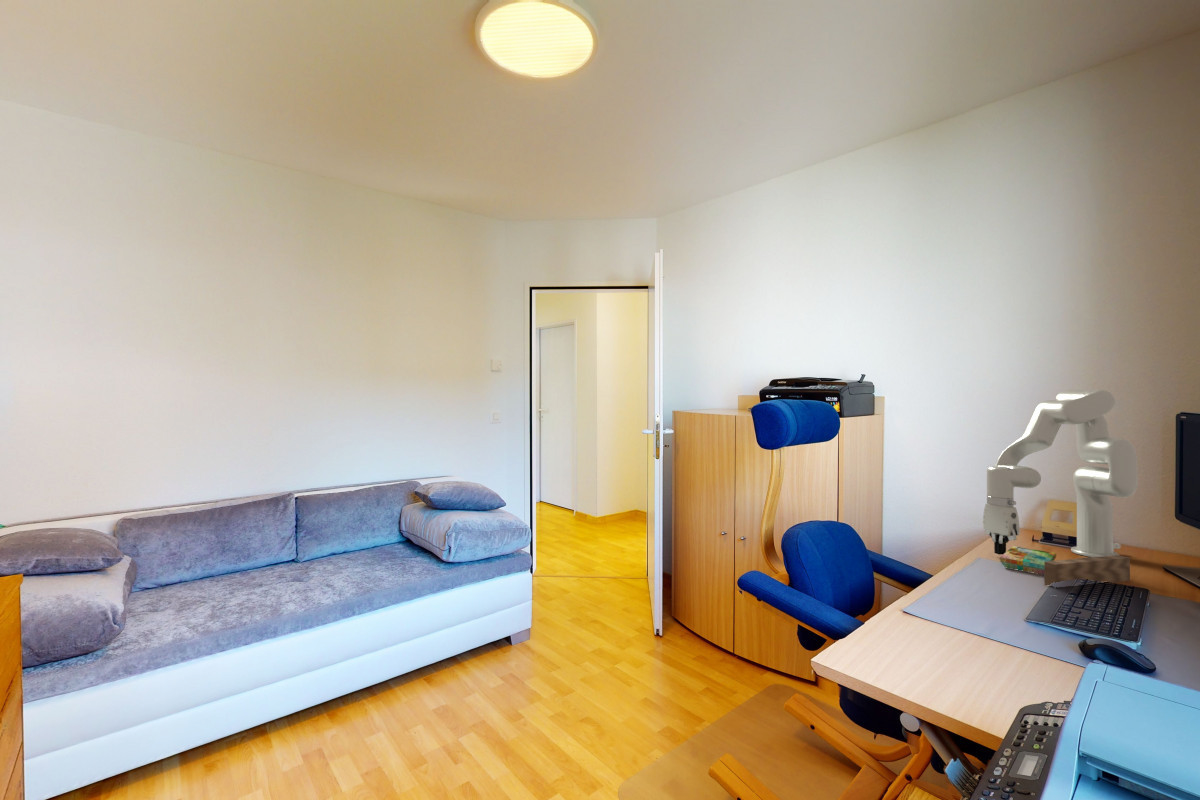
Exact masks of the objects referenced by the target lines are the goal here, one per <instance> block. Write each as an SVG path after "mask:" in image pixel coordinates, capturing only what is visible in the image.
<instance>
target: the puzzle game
mask: <svg viewBox="0 0 1200 800" xmlns="http://www.w3.org/2000/svg"><path fill="white" fill-rule="evenodd" d="M1056 558H1057V553H1056V552H1051V551H1045V550H1040V549H1033V548H1027V547H1022V546H1021V547H1020V546H1016V545H1015V546H1014V545H1013V546H1012V547H1010V548H1009V549H1008V550H1006V553H1004V554H1001V556H1000V558H999V559H1000V563H1001V565H1003V566H1004V568H1005V567H1007V568H1006V569H1008V568H1013V569H1018V570H1017V571H1019V570H1023V571H1022V572H1024V571H1029V572H1034V573H1038V574H1037V575H1040V574H1043V575H1044V562H1046V561H1055V559H1056ZM1013 569H1012V570H1013ZM1029 572H1028V573H1029ZM1034 573H1033V574H1034Z"/></svg>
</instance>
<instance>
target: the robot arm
mask: <svg viewBox="0 0 1200 800" xmlns="http://www.w3.org/2000/svg"><path fill="white" fill-rule="evenodd" d="M1115 405H1116V399H1115V396H1114V395H1113V394H1112V393H1111V392H1109V391H1108V390H1105V389H1073V390H1072V389H1071V390H1064V391H1060V392H1059V393H1058V394H1056V396H1055V400H1045V401H1041V402H1040V403H1039V404H1037V405H1036V407H1035V410H1034V411H1033V414H1032V415H1031V417H1030V420H1029V421H1028V423H1027V426H1026V428H1025V430H1024V432H1023V433H1022V436H1020V438H1018V439H1017V440H1015V441H1014V442H1012V443H1011V444H1009V446H1007V447H1006V448H1005V449H1004V450H1003V451H1002V452H1001V453H1000V455H999V457H998V459H997V461H996V463H995V465H994V466H988V468H987V469H986V503H985V505H984V510H983V516H982V517H983V518H982V528H983V530H984V534H986V535H988V536H989V537H990V538H991V540H992V542H993V545H994V547H993V548H994V554H997V555H1001V556H1002V555H1003V554H1004V553H1006V552H1007V544H1008V543H1009V542H1010V541H1017V536H1019V535H1020V520H1019V514H1018V509H1017V507H1015V505H1017V502H1016V500H1015V499H1014V496H1015V495H1014V488H1021V489H1033V488H1035V487H1037V486H1039V485H1040V483H1041V481H1042V476H1041V474H1040V473H1039V471H1038V470H1036V469H1035V468H1032V467H1028V466H1022V465H1019V463H1020V462H1021V461H1022V460H1023V459H1024V458H1025V457H1027V456H1029V455H1031V454H1034V453H1036V452H1040V451H1044V450H1045V449H1048V448H1050V447H1052V445H1053V442H1054V441H1055V439H1056V436H1058V435H1057V434H1058V433H1059V431H1060V428H1061V427H1062V425H1068V426H1069V425H1071V426H1075V434H1076V436H1075V437H1076V450H1077V456H1078V458H1079V459H1080V460H1082V461H1083V462H1086V463H1092V464H1099V465H1100V464H1101V465H1108V467H1102V466H1094V465H1093V466H1092V465H1089V466H1087V465H1086V466H1082V467H1079V468H1077V469H1076V470H1075V471H1074V472H1073V475H1072V481H1073V487H1074V490H1075V494H1076V546H1072V547H1071V548H1070V550H1071V552H1072V553H1074V554H1076V555H1080V556H1084V557H1088V558H1091V557H1102V556H1113V555H1120V554H1119V553H1118V552H1115V550H1117V549H1121V547H1122V545H1121V544H1120V543H1118V542H1115V543H1114V508H1113V507H1114V506H1113V502H1112V501H1111V499H1110V498H1109V496H1110V497H1114V498H1115V497H1117V498H1130V497H1131V496H1134V495H1135V493H1136V492H1137V490H1138V486H1139V474H1138V470H1139V468H1138V455H1137V451H1136V448H1135V446H1134V445H1133V444H1132V442H1130V440H1127V439H1124V438H1120V437H1110V435H1109V425H1108V421H1107V419H1106V416H1105V415H1107V414H1108V413H1110V412H1111V411H1112V410H1113V409H1114V407H1115Z"/></svg>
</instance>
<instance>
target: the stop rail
mask: <svg viewBox="0 0 1200 800" xmlns="http://www.w3.org/2000/svg"><path fill="white" fill-rule="evenodd" d="M1043 575H1044V577H1043V578H1044V586H1046V585H1050V584H1051V583H1053V582H1055V583H1056V582H1060V581H1066V580H1074V579H1088V580H1096V581H1107V582H1112V583H1121V582H1130V581H1131V558H1130V557H1128V556H1123V555H1120V554H1119V555H1113V556H1102V557H1081V558H1071V559H1060V560H1054V561H1046V562H1044V574H1043Z"/></svg>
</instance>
